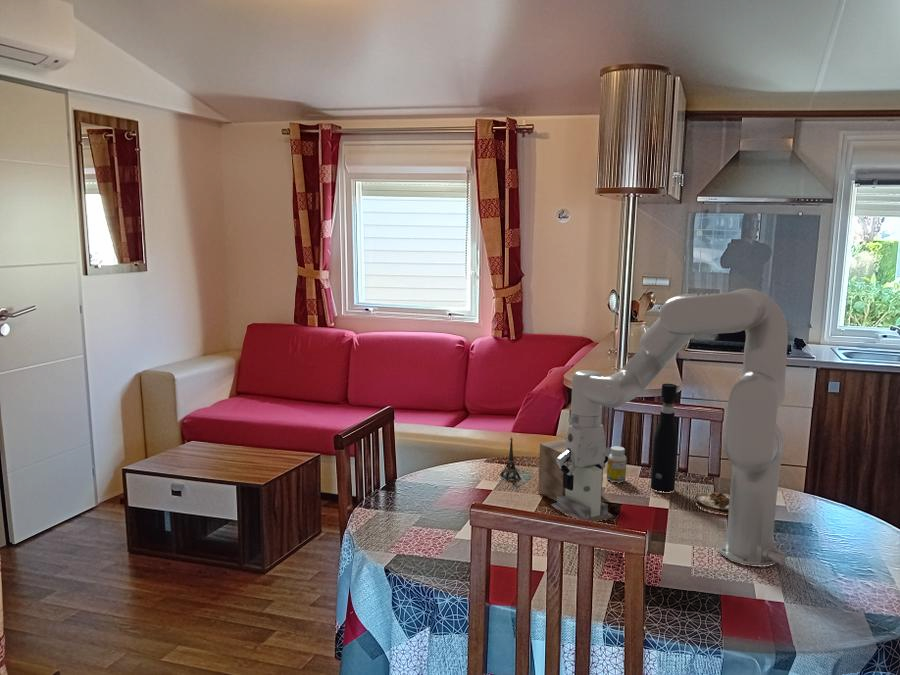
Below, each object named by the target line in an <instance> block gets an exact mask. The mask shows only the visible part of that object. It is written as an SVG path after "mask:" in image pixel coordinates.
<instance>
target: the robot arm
mask: <svg viewBox="0 0 900 675" xmlns="http://www.w3.org/2000/svg"><path fill="white" fill-rule="evenodd" d="M788 330H789V329H788V323H787V320H786V316H785V315H784V312H783V310H782V309H781V307H780V306H779V304H778V303H777V302H776V301H775V300H774V299H773V298H771V297H770V296H768V294H765V293H764V292H761V291H760V290H757V289H754V288H748V287H747V288H739V289H735V290H733V291H730V292H720V293H712V294H711V293H710V294H701V295H697V294H694V293H683V294H679V295H676V296H675V295H674V297H670V298H669V299H667V301H666V302H664V304H663V305H662V307H661V308H660V313H659V317H658V318H657V319H656V320H655V321H654V322H653V324H651V326H650V327H649V328H648V329H647V330H646V331H645V332H644V333H643V334H642V335H641V337H640V338H639V346H638V349H637V351H636V352H635V353H634V355H632V357H631V358H630V360H629V361H627V363H626V364H625V365H624V366H623V367H622V368H621V369H620V370H619V371H618V372H616V373H613V374H611V375H607V376H603V375H602V373H600V372H599V371H596V370H590V369H589V370H587V369H585V370H583V369H582V370H577V371H575V372H574V373H573V376H572V383H571V384H572V385H571V406H570V417H569V418H568V421H567V422H568V423H569V425H568V428H567V432H566V438H565V439H566V444H565V452H563V453H562V454H561V455H560V456H558V457H557V458H556V462H557V464H558V468H559V469H560V470H561V472H563V487H564V488H566V489H568V490H570V491H571V490H573V482H574V475H572V473H573V471H574V470H575V468H576V467H577V468H583V467H588V466H596V467H598V468H600V469H602V479H603V478H604V469H605V468H606V465H607V461H608V459H609V458H608V457H609V455H610V454H611V448H609V447H607V446H606V434H605V429H604V424H602V412H603V411H602V408H603V407H605V408H612V409H613V408H619V407H622V406H623V405H625V404H627V403H628V402H630V401H632V400H635V399H636V398H637V397H638V396H639V395H640V394H641V393H642V392H643V391H644V390H645V389H646V388H647V387H648V386H649V385H650V384H651V383H652V382H653V381H654V380H655V379H656V377H658V375H659V374H660V373H661V372H662V371H663V369H664V368H665V367H667V365H668V364H669V362H670V361H671V360H672V359H673V358H674V357H675V356H676V355H677V354H678V353H679V352H680V351H681V350H682V348H683V347H684V346H685V345H686V344H687V343H688V342H689V341H690V340H691V339H692V338H693V337H694V336H697V335H698V336H699V335H715V334H718V335H719V334H730V333H731V334H733V333H739V332H742V331H744V332H745V342H744V348H743V363H742V371H741V372H742V373H741V376H740V378H739V379H738V380H737V381H736V383H734V385H733V387H732V388H731V390H730V393H729V397H728V403H727V415H726V426H725V436H724V437H725V439H724V440H725V441H724V448H725V450H724V451H725V453H726V457H727V459H728V460H729V462H730V463H731V465H732V471H731V479H730V480H731V481H730V488H729V489H730V492H729V495H730V501H729V513H728V516H727V526H726V528H727V529H726V539H723V540H721V541H720V542H719V543H718V546H717V549H718V550H719V551H718V552H720V553H721V554H722V555H723V556H725V557H726V558H728V559H730V560H733V561H735V562H739V563H743V564H749V565H762V566H763V565H770V564H774V563H777V564H778V565H780V566H784V565H785V563H786V558H787V556H788V553H787V552H784V551H782V550H779V549H778V541H777V540H774V532H775V531H774V529H775V519H776V509H777V508H776V507H777V497H778V490H779V480H780V479H779V478H780V471H781V465H782V458H783V451H784V435H783V432H782V430H781V428H780V427H779V425H778V424H777V416H778V410H779V409H780V407H781V405H782V404H783V402H784V399H785V397H786V396H785V395H786V394H785V393H786V392H785V391H786V390H785V389H786V387H785V386H786V372H787V358H788V357H787V356H788V354H787V353H788V341H789V340H788V339H789V336H788V332H789V331H788ZM564 461H565V462H566V463H565V464H564ZM570 465H571V467H570V468H569V469H568V467H569V466H570ZM603 480H604V479H603ZM720 553H719V554H720ZM721 554H720V555H721ZM722 555H721V556H722ZM723 556H722V557H723ZM725 557H724V558H725ZM726 558H725V559H726ZM728 559H727V560H728ZM730 560H729V561H730Z"/></svg>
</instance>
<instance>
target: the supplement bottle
mask: <svg viewBox="0 0 900 675" xmlns="http://www.w3.org/2000/svg"><path fill="white" fill-rule="evenodd" d="M610 449H611V453H610V455H609V457H608V458H609V459H608V461H607V462H606V466H607V467H606V468H607V469H606V480H607V479H608V480H610V481H614V482H623V481H625V482H626V478H627V477H626V475H627V461H628V460H627V459H628V458H627V456H626V455H625V453H626V449H625V448H624V447H623V446H618V445H615V446H611V447H610ZM608 480H607V481H608ZM610 481H609V482H610ZM623 483H624V482H623Z"/></svg>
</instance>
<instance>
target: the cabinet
mask: <svg viewBox="0 0 900 675" xmlns="http://www.w3.org/2000/svg"><path fill="white" fill-rule="evenodd" d="M565 444H566V438H563V439H558V440H551V441H547V442H541V443H539V463H538V465H539V466H538V488H537V489H538V492H539V493H538V492H537V493H538V494H540V493H541V494H540V495H542V494H543V495H545V496H547V497H549V498H551V499H553V500H555V501H557V502H555V501H554V503H551V506H553V507H555V508H557V509H559V510H561V511H562V512H564V513H566V514H568V515H570V516H573V517H574V518H578V519H583V520H591V521H597V520H603V519H607V518H611V517H612V518H613V514H611V513H610V512H608V511H609V507H608V506H609V504H608V503H606V502H603V501H601V506H600V515H599V516H595V517H590V509H589V508H587V507H585V506H583V505H581V504H579V503H577V502H575V501H573V500H571V499H569V498H567V497H565V489H566V488H564V487H563V472H561V470H560V469H559V468H558V464H557V462H556V458H557V457H558V456H560V455H561V454H562V453H563V452H565ZM565 463H566V462H565V461H564V464H565ZM603 480H604V479H602V482H603ZM543 495H542V496H543ZM601 495H603V486H602V487H601ZM545 496H544V497H545ZM547 497H546V498H547ZM549 498H548V499H549ZM551 499H550V500H551ZM553 500H552V501H553Z"/></svg>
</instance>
